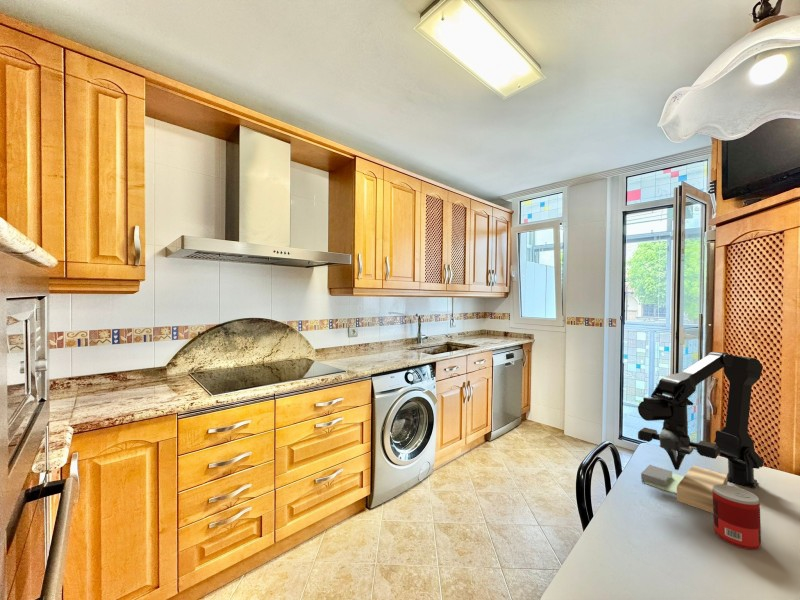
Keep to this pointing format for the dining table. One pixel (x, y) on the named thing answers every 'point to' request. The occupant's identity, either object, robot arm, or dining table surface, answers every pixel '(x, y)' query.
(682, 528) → the dining table surface
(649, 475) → the pale grey box
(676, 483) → the mat
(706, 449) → the robot arm
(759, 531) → the canned food
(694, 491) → the deck
